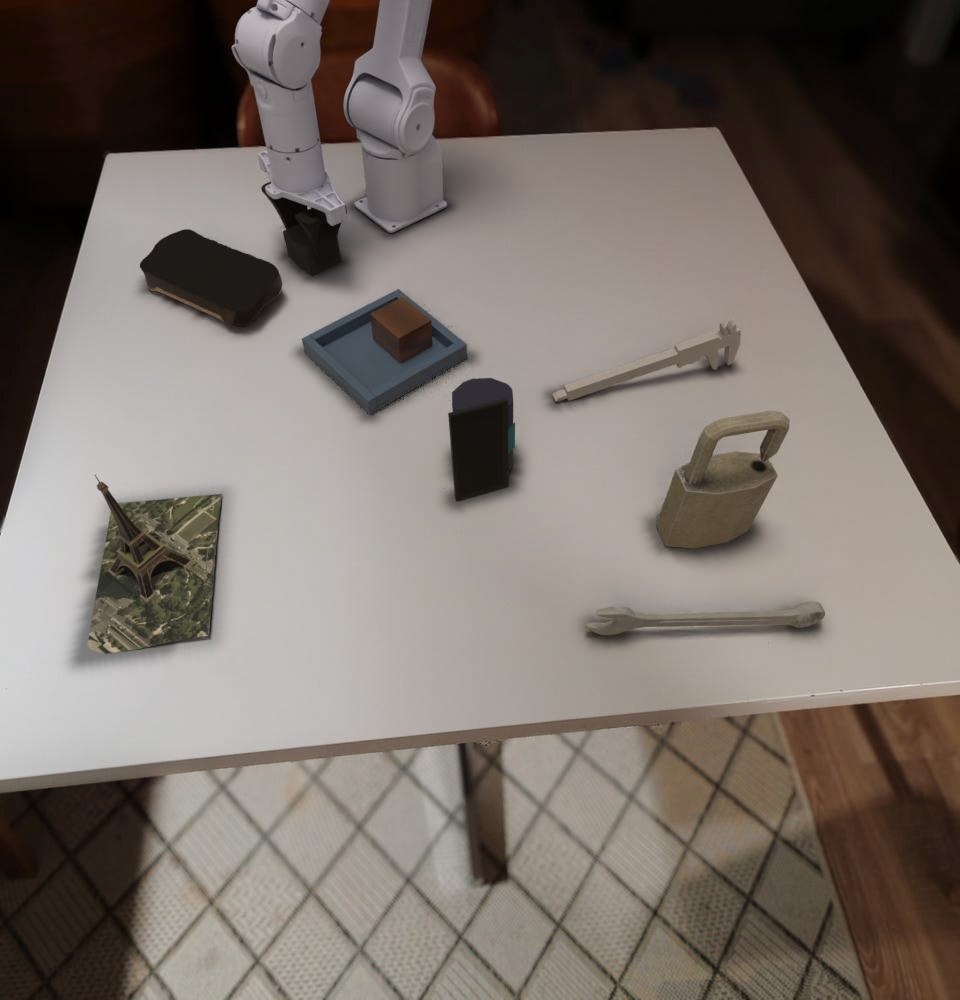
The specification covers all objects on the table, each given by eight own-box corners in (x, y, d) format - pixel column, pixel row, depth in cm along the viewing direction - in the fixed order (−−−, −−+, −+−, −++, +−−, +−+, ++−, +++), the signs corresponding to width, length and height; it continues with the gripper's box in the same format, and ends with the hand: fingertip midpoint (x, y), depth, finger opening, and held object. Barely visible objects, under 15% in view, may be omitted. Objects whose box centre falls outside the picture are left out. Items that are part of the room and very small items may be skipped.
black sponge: (294, 295, 89) (288, 269, 86) (245, 337, 85) (237, 311, 82) (189, 250, 94) (180, 223, 91) (137, 288, 89) (126, 261, 86)
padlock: (752, 537, 70) (812, 428, 58) (668, 553, 69) (711, 444, 57) (734, 503, 72) (788, 391, 60) (652, 518, 71) (691, 406, 59)
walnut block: (404, 322, 86) (402, 296, 83) (432, 345, 84) (431, 320, 81) (372, 339, 84) (369, 313, 81) (400, 364, 82) (398, 338, 79)
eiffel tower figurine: (213, 641, 63) (162, 554, 52) (85, 657, 62) (6, 571, 51) (222, 496, 72) (180, 396, 61) (110, 507, 71) (47, 408, 60)
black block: (318, 242, 95) (313, 216, 92) (341, 262, 93) (337, 236, 90) (287, 256, 93) (282, 230, 91) (310, 276, 91) (306, 250, 88)
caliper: (726, 360, 84) (743, 315, 79) (731, 366, 84) (748, 321, 78) (551, 396, 80) (557, 351, 75) (555, 404, 80) (561, 359, 75)
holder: (399, 302, 89) (398, 288, 87) (467, 358, 84) (467, 344, 82) (304, 352, 84) (301, 338, 82) (369, 414, 78) (367, 401, 77)
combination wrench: (830, 596, 63) (588, 600, 62) (835, 610, 62) (590, 615, 61) (812, 617, 66) (581, 622, 65) (816, 631, 65) (583, 636, 64)
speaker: (516, 501, 72) (516, 417, 64) (454, 502, 72) (447, 419, 64) (514, 444, 77) (514, 361, 69) (456, 445, 77) (450, 362, 69)
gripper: (223, 123, 83) (251, 233, 94) (298, 182, 76) (318, 292, 87) (280, 103, 86) (300, 212, 97) (356, 158, 79) (369, 268, 90)
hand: (312, 249), depth 92 cm, fingers closed on black block, 5 cm apart
